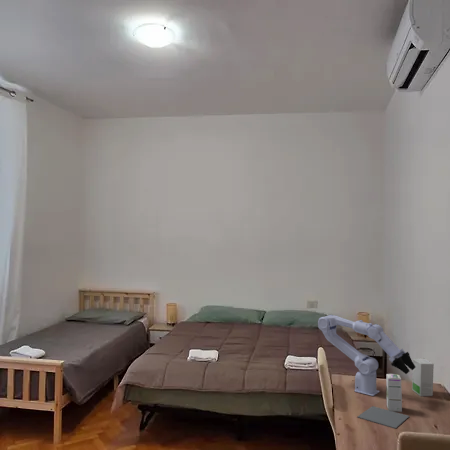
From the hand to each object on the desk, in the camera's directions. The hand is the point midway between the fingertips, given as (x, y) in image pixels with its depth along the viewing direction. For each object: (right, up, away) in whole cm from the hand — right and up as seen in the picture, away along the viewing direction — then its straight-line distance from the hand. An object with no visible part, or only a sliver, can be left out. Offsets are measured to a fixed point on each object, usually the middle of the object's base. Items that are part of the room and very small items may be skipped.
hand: (411, 370), depth 205 cm
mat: (-18, -14, -16) cm, 28 cm away
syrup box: (-10, -15, -7) cm, 19 cm away
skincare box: (+11, -15, +12) cm, 22 cm away
